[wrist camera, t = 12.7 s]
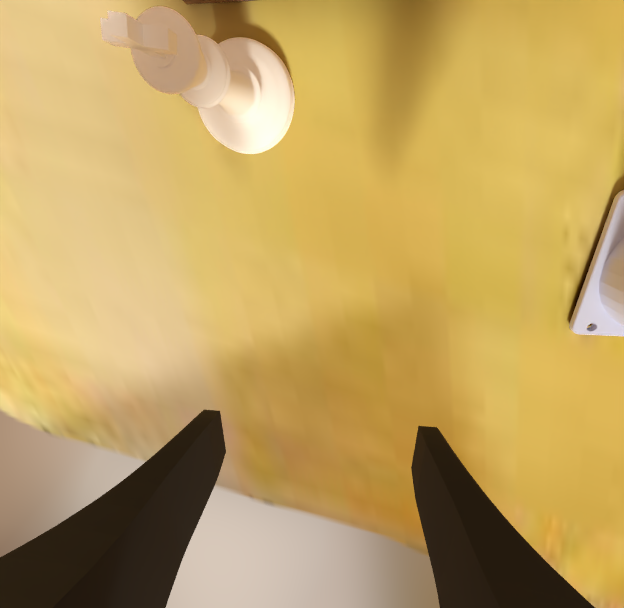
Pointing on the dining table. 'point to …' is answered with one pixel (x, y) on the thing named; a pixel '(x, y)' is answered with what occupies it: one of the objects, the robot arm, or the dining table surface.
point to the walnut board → (210, 1)
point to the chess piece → (210, 76)
